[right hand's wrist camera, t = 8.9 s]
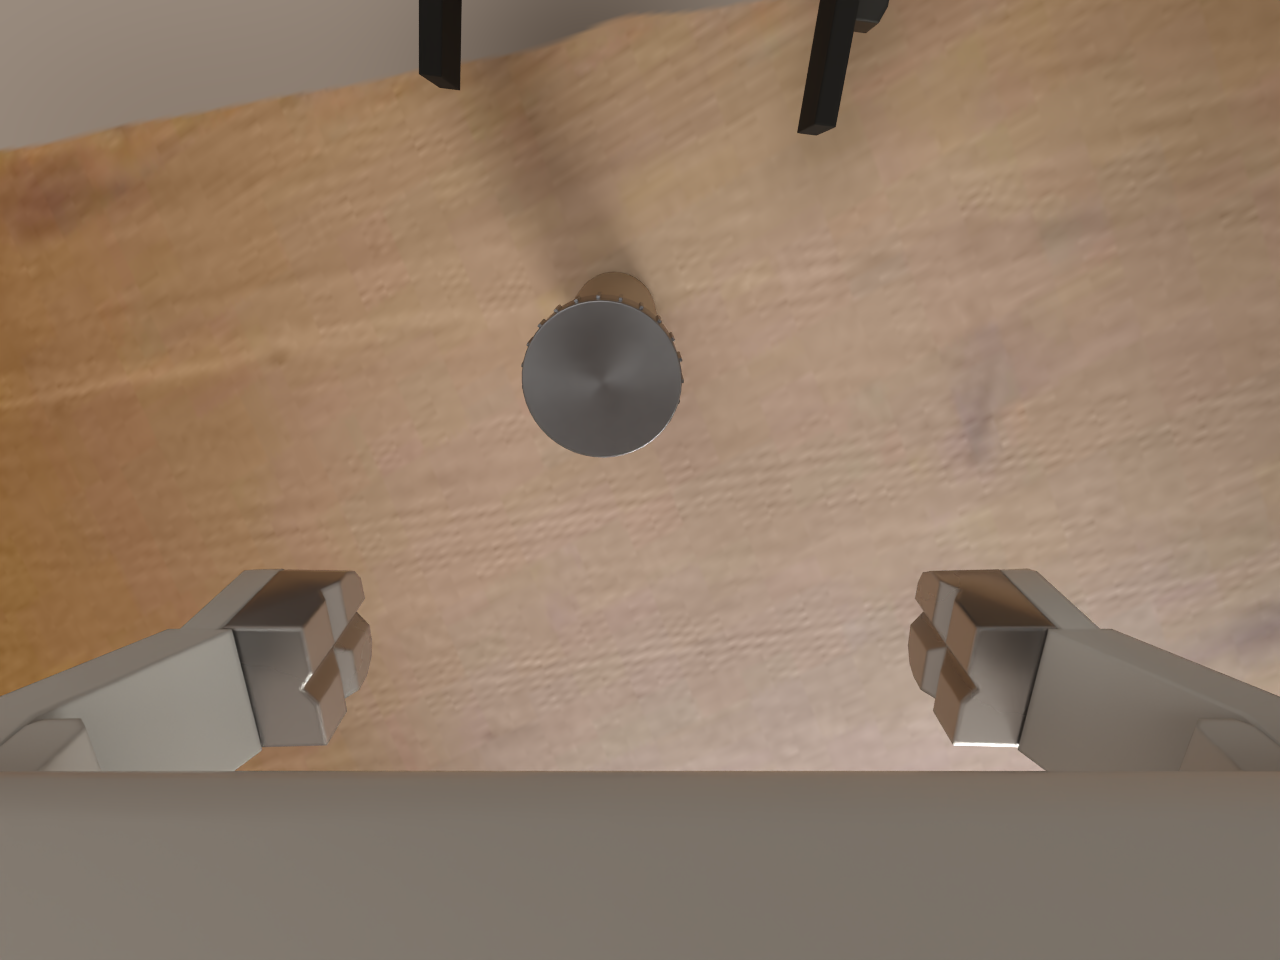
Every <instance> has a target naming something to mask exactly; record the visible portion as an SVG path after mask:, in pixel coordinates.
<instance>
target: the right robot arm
mask: <svg viewBox="0 0 1280 960" xmlns="http://www.w3.org/2000/svg"><path fill="white" fill-rule="evenodd" d="M364 599H365V596H364V592H363V587H362V582H361V578H360V577H359V576H358V574H357V573H356V572H355V571H335V570H284V569H259V570H245V571H243V572H242V573H241V574H240V575H239V576H238V577H237V578H235V579H234V580H233V581H232V582H231V583H230V584H229V585H228V586H227V587H226V588H224V589H223V590H222V591H221V592H220V593H219V594H218V595H217V596H216V597H215V598H213V599H212V600H211V601H210V602H209V603H208V604H207V605H206V606H205V607H204V608H202V609H201V610H200V611H199V612H198V613H197V614H196V615H195V616H194V617H193V618H192V619H190V620H189V621H188V622H187V623H186V624H185V625H184V626H183V627H182V628H181V629H167V630H165V631H162V632H160V633H157V634H155V635H152V636H150V637H147V638H145V639H142V640H140V641H137V642H135V643H132V644H130V645H127V646H125V647H122V648H120V649H117V650H115V651H112V652H110V653H107V654H105V655H102V656H100V657H97V658H95V659H93V660H90V661H88V662H85V663H83V664H80V665H78V666H75V667H73V668H70V669H68V670H65V671H63V672H60V673H58V674H55V675H53V676H50V677H48V678H45V679H43V680H40V681H38V682H35V683H33V684H30V685H28V686H25V687H23V688H20V689H18V690H15V691H13V692H10V693H8V694H5V695H3V696H0V960H1280V697H1279V696H1277V695H1274V694H1272V693H1269V692H1267V691H1264V690H1262V689H1259V688H1257V687H1254V686H1252V685H1249V684H1247V683H1244V682H1242V681H1239V680H1237V679H1234V678H1232V677H1229V676H1227V675H1224V674H1222V673H1220V672H1217V671H1215V670H1212V669H1210V668H1207V667H1205V666H1202V665H1200V664H1197V663H1195V662H1192V661H1190V660H1187V659H1185V658H1182V657H1180V656H1177V655H1175V654H1172V653H1170V652H1167V651H1165V650H1162V649H1160V648H1157V647H1155V646H1153V645H1150V644H1148V643H1145V642H1143V641H1140V640H1138V639H1135V638H1133V637H1130V636H1128V635H1125V634H1123V633H1120V632H1118V631H1115V630H1113V629H1100V628H1098V627H1097V626H1096V625H1095V624H1094V623H1093V622H1092V621H1091V620H1090V619H1089V618H1087V617H1086V616H1085V615H1084V614H1083V613H1082V612H1081V611H1080V610H1079V609H1078V608H1077V607H1075V606H1074V605H1073V604H1072V603H1071V602H1070V601H1069V600H1068V599H1067V598H1066V597H1064V596H1063V595H1062V594H1061V593H1060V592H1059V591H1058V590H1057V589H1056V588H1055V587H1054V586H1052V585H1051V584H1050V583H1049V582H1048V581H1047V580H1046V579H1045V578H1044V577H1043V576H1041V575H1040V574H1039V573H1038V572H1037V571H1034V570H1030V569H1009V570H999V569H996V570H954V571H929V572H923V573H922V575H921V577H920V579H919V582H918V585H917V591H916V596H915V599H916V601H917V602H918V604H919V605H920V607H921V608H922V610H923V611H924V612H923V613H922V614H921V615H920V616H919V617H918V618H917V619H916V620H915V621H914V622H913V623H912V624H911V626H910V634H909V641H908V651H909V662H910V666H911V670H912V673H913V676H914V678H915V680H916V682H917V684H918V686H919V687H920V689H921V690H922V691H924V692H926V693H927V694H929V695H930V696H932V697H934V698H935V703H934V709H933V712H934V713H935V715H936V717H937V719H938V720H939V722H940V724H941V725H942V727H943V729H944V730H945V732H946V734H947V736H948V737H949V739H950V741H951V742H952V744H953V745H961V746H998V747H1018V750H1019V751H1020V752H1021V753H1023V754H1024V755H1025V756H1027V757H1028V758H1029V759H1031V760H1032V761H1033V762H1035V763H1036V764H1037V765H1039V766H1040V767H1042V768H1043V769H1044V770H1046V771H235V770H236V769H237V768H239V767H240V766H241V765H243V764H244V763H245V762H247V761H248V760H249V759H251V758H252V757H254V756H255V755H256V754H258V753H259V752H260V751H262V747H281V746H317V745H327V744H328V742H329V741H330V739H331V737H332V736H333V734H334V732H335V730H336V729H337V727H338V725H339V724H340V722H341V720H342V719H343V717H344V715H345V713H346V712H347V709H346V703H345V698H346V697H348V696H350V695H351V694H353V693H354V692H356V691H358V690H359V689H360V687H361V686H362V684H363V682H364V680H365V678H366V676H367V673H368V669H369V665H370V660H371V656H372V639H371V632H370V626H369V624H368V623H367V622H366V621H365V620H364V619H363V618H362V617H361V616H360V615H359V614H358V613H357V612H356V611H357V610H358V608H359V607H360V605H361V604H362V602H363V601H364Z"/></svg>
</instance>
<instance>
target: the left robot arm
mask: <svg viewBox="0 0 1280 960" xmlns="http://www.w3.org/2000/svg"><path fill="white" fill-rule="evenodd" d="M888 3H889V0H820V4H819V9H818V15H817V21H816V27H815V33H814V39H813V44H812V50H811V56H810V62H809V68H808V73H807V79H806V85H805V91H804V97H803V102H802V108H801V114H800V120H799V126H798V131H797V133H801V134H809V135H819V134H821V133H823V132H825V131H828V130H830V129H832V128H834V127H836V122H837V117H838V111H839V106H840V101H841V95H842V90H843V85H844V80H845V74H846V69H847V64H848V58H849V53H850V48H851V43H852V37H853V32H861V33H867V32H868V31H869V30H870V29H872V28H873V27H874V26H875V25H877V24H878V23H879V21H880V20H881V18H882V16H883V14H884V12H885V11H886V9H887V7H888ZM461 6H462V0H419V74H420V75H421V76H423V77H424V78H426V79H427V80H429V81H430V82H432V83H433V84H435V85H436V86H438V87H439V88H446V89H454V90H460V61H461Z"/></svg>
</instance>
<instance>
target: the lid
mask: <svg viewBox="0 0 1280 960" xmlns="http://www.w3.org/2000/svg"><path fill="white" fill-rule="evenodd" d="M538 327H539V330H538V331H537V332H536V333H535V335H534V337H532V338H531V339H530V340H529V342H528V343H527V346H528V349H527V351H526V354H525V358H524V361H523V363H522V366H521V367H523V368H522V389H523V393H524V397H525V401H526V404H527V406H528V409H529V411H530V413H531V415H532V417H533V418H534V420H535V422H536V423H537V424H538V425H539V427H540V428H541V429H542V430H543V431H544V432H545V433H546V434H547V436H549V437H550V438H551V439H552V440H554V441H555V442H556V443H558V444H559V445H561V446H563V447H564V448H566V449H568V450H571V451H573V452H575V453H579V454H582V455H586V456H591V457H615V456H620V455H625V454H628V453H631V452H634V451H636V450H638V449H640V448H642V447H644V446H645V445H647V444H648V443H650V442H651V441H652V440H654V439H655V438H656V437H657V436H658V435H659V434H660V433H661V432H662V431H663V430H664V429H665V427H666V426H667V425H668V423H669V422H670V420H671V418H672V417H673V415H674V413H675V411H676V408H677V405H678V404H679V402H680V400H679V399H680V394H681V386H682V383H683V382H684V380H683V376H682V373H681V366H680V362H681V361H682V358H681V355H680V352H677V351H676V348H675V345H674V342H673V341H674V340H675V339H674V336H673V334H672V332H670V333H669V332H668V331H667V329H666V328H665V326H664V325H663V323H662V321H661V317H660V316H659V315H657V316H655V315H654V314H653V313H652V312H651V311H650V310H648V309H647V308H645V307H644V304H643V303H642V302H640V303H637V302H635V301H633V300H630V299H627V298H624V297H623V294H620V295H619V296H615V295H605V294H602V292H598V293H597V295H590V296H585V297H580V295H578V296H576V298H575V299H574V300H573V301H571V302H569V303H567V304H565V305H563V306H561V305H558V306H557V307H556V308H555V310H554V313H553V314H552V315H551V316H550V317H549V318H548V319H547V320H545V319H543V320H542V321H541V322H540V324H539V325H538Z"/></svg>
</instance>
